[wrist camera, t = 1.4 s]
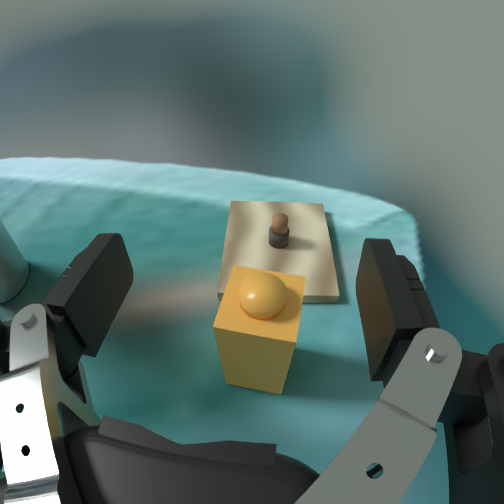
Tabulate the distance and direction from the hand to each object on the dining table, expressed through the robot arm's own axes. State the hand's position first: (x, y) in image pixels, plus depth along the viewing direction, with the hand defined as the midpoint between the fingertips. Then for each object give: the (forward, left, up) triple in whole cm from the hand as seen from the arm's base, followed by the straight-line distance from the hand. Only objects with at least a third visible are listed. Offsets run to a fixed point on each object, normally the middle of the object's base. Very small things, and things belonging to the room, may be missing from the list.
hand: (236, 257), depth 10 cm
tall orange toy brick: (+1, +6, -23) cm, 23 cm away
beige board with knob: (+3, +22, -23) cm, 32 cm away
